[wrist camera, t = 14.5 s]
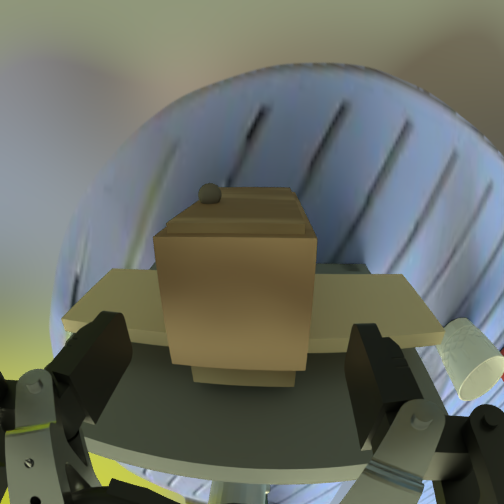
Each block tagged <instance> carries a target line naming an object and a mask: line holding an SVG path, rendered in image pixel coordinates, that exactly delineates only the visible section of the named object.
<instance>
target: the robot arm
mask: <svg viewBox="0 0 504 504" xmlns="http://www.w3.org/2000/svg"><path fill="white" fill-rule="evenodd" d="M132 354H133V349H132V344H131V340H130V337H129V333H128V329H127V325H126V321H125V318H124V315H123V314H122V313H120V312H111V311H101V312H100V313H99V314H98V315H97V317H96V318H95V319H94V320H93V321H92V322H90V323H88V324H86V325H85V326H83V327H82V328H80V329H79V330H78V331H77V332H76V333H75V335H74V336H73V337H72V339H70V340H69V342H68V343H67V344H66V346H64V347H63V349H62V350H61V351H60V352H59V353H58V355H57V356H56V357H55V358H54V359H53V361H52V362H51V363H50V364H49V365H48V367H47V368H46V369H45V370H43V369H34V370H30V371H28V372H26V373H25V374H23V376H21V377H20V378H19V380H16V381H15V380H5V379H4V377H3V375H2V373H1V372H0V502H1V500H2V498H3V496H4V493H5V491H6V489H7V487H8V491H9V498H10V504H180V503H178V502H175V501H173V500H171V499H168V498H166V497H164V496H162V495H160V494H158V493H156V492H154V491H152V490H150V489H148V488H144V487H140V486H137V485H133V484H129V483H126V482H123V481H119V480H116V479H113V478H112V479H111V481H110V484H109V486H101V484H100V482H99V480H98V479H97V477H96V475H95V473H94V470H93V467H92V464H91V460H90V457H89V454H88V450H87V446H86V442H85V438H84V434H83V431H82V429H81V427H80V426H81V425H82V423H83V421H84V422H87V423H90V424H93V425H96V423H97V421H98V419H99V418H100V416H101V414H102V412H103V410H104V408H105V407H106V405H107V403H108V401H109V399H110V397H111V396H112V394H113V392H114V390H115V388H116V387H117V385H118V383H119V381H120V380H121V378H122V376H123V374H124V373H125V371H126V369H127V367H128V366H129V364H130V362H131V359H132ZM404 357H405V356H404V354H403V352H402V350H401V348H400V346H399V345H398V344H397V343H396V342H395V341H393V340H392V339H391V338H390V337H382V335H381V333H380V331H379V329H378V327H377V325H376V323H358V324H353V326H352V329H351V333H350V338H349V343H348V348H347V352H346V357H345V364H344V371H345V378H346V382H347V386H348V391H349V395H350V400H351V404H352V409H353V414H354V419H355V423H356V428H357V433H358V438H359V444H360V449H361V451H363V450H371V449H372V451H373V457H372V459H371V460H370V462H369V463H368V464H367V466H366V467H365V469H364V470H363V472H362V473H361V475H360V476H359V477H358V479H357V480H356V482H355V483H354V485H353V486H352V487H351V489H350V490H349V492H348V493H347V494H346V496H345V497H344V498H343V499H342V501H341V502H340V504H417V502H418V500H419V498H420V496H421V494H422V492H423V489H424V484H422V480H432V482H433V487H434V492H435V497H436V502H437V504H504V412H503V411H502V410H501V409H499V408H498V407H496V406H493V405H489V404H484V405H480V406H478V407H476V408H475V409H474V410H473V411H472V413H471V414H470V416H469V417H464V416H449V415H444V413H443V411H442V410H441V408H440V407H439V406H438V405H436V404H435V403H433V402H431V401H428V400H424V398H423V395H422V393H421V391H420V388H419V386H418V384H417V382H416V380H415V377H414V375H413V373H412V371H411V369H410V367H409V365H408V363H407V360H406V359H405V358H404ZM269 492H270V484H248V483H233V482H223V481H213V480H212V484H211V490H210V495H209V501H208V504H265V495H266V494H267V493H269Z"/></svg>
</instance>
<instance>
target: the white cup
mask: <svg viewBox="0 0 504 504" xmlns="http://www.w3.org/2000/svg"><path fill="white" fill-rule="evenodd" d="M444 330H445V334H444V337H443V340H442V342H441V344H440V345H436V348H437V350H438V353H439V355H440V357H441V358H442V362H443V364H444V366H445V368H446V371H447V373H448V375H449V377H450V379H451V381H452V383H453V385H454V387H455V389H456V391H457V394H458V396H459V398H460V399H461V400H463V401H470V400H474V399H476V398H478V397H480V396H482V395H483V394H485V393H486V392H487V391H489V390H490V389H491V388H492V387H493V386H494V385H495V384H496V383H497V382H498V380H499V379H500V378H501V376H502V374H503V372H504V356H503V355H502V354H501V353H500V351H499V350H498V349H497V348H496V347H495V346H494V345H493V343H492V342H491V341H490V340H489V339H488V338H487V337H486V336H485V335H484V334H483V333H482V332H481V331H480V330H479V329H478V328H477V327H476V326H475V325H474V324H473V323H472V322H471V321H470V320H468V319H467V318H457V319H455V320H453V321H451V322H450V323H449V324H447V325H446V326H445V327H444Z"/></svg>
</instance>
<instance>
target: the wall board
mask: <svg viewBox="0 0 504 504" xmlns="http://www.w3.org/2000/svg"><path fill="white" fill-rule="evenodd" d="M101 311H111V312H120V313H122V314H123V315H124V318H125V321H126V325H127V329H128V333H129V337H130V340H131V344H132V349H133V354H132V359H131V362H130V364H129V366H128V367H127V369H126V371H125V373H124V374H123V376H122V378H121V380H120V381H119V383H118V385H117V387H116V388H115V390H114V392H113V394H112V396H111V397H110V399H109V401H108V403H107V405H106V407H105V408H104V410H103V412H102V414H101V416H100V418H99V419H98V421H97V423H96V425H93V424H90V423H87V422H84V421H83V423H82V425H81V426H80V427H81V429H82V431H83V434H84V438H85V442H86V446H87V450H88V452H91V453H94V454H97V455H100V456H103V457H106V458H109V459H112V460H116V461H119V462H122V463H126V464H130V465H133V466H137V467H141V468H145V469H150V470H154V471H159V472H164V473H169V474H174V475H179V476H185V477H191V478H198V479H205V480H213V481H223V482H233V483H248V484H278V485H286V484H317V483H331V482H341V481H351V480H357V479H358V477H359V476H360V475H361V473H362V472H363V470H364V469H365V467H366V466H367V464H368V463H369V462H370V460H371V459H372V457H373V451H372V449H371V450H363V451H361V449H360V444H359V438H358V433H357V428H356V423H355V419H354V414H353V409H352V404H351V400H350V395H349V391H348V386H347V382H346V378H345V371H344V364H345V357H346V352H347V348H348V343H349V338H350V333H351V329H352V326H353V324H358V323H376V325H377V327H378V329H379V331H380V333H381V335H382V337H390V338H391V339H392V340H393V341H395V342H396V343H397V344H398V345H399V346H400V348H401V350H402V352H403V354H404V356H405V357H404V358H405V359H406V360H407V363H408V365H409V367H410V369H411V371H412V373H413V375H414V377H415V380H416V382H417V384H418V386H419V388H420V391H421V393H422V395H423V398H424V400H428V401H431V402H433V403H435V404H436V405H438V406H439V407H440V408H441V410H442V411H443V413H444V415H448V413H447V411H446V409H445V407H444V404H443V402H442V400H441V398H440V396H439V394H438V392H437V390H436V388H435V386H434V384H433V382H432V380H431V378H430V376H429V374H428V372H427V370H426V368H425V366H424V364H423V362H422V360H421V359H420V357H419V355H418V353H417V351H416V349H415V347H423V346H432V345H440V344H441V342H442V340H443V337H444V334H445V330H444V328H443V327H442V326H441V324H440V323H439V321H438V320H437V319H436V317H435V316H434V315H433V313H432V312H431V311H430V309H429V308H428V307H427V305H426V304H425V303H424V301H423V300H422V299H421V297H420V296H419V295H418V294H417V292H416V291H415V290H414V288H413V287H412V286H411V285H410V283H409V282H408V281H407V280H406V278H405V277H404V276H403V275H402V274H371V273H370V271H369V270H368V268H367V266H366V265H365V264H317V263H316V268H315V282H314V294H313V305H312V316H311V326H310V335H309V345H308V353H307V362H306V370H305V371H296V374H295V384H294V387H263V386H239V385H223V384H211V383H200V382H194V381H193V375H192V369H191V366H188V365H179V364H172V360H171V355H170V350H169V344H168V339H167V334H166V328H165V322H164V316H163V310H162V303H161V297H160V290H159V283H158V275H157V268H156V262H155V263H154V264H153V265H152V267H151V268H150V269H149V270H138V269H115V268H112V269H111V270H110V271H109V272H108V273H107V274H106V275H105V276H104V277H103V278H102V279H101V280H100V281H99V282H98V283H97V284H95V285H94V286H93V287H92V288H91V289H90V290H89V291H88V292H87V293H86V294H85V295H84V296H83V297H82V298H81V299H80V300H79V301H78V302H77V303H76V304H75V305H74V306H73V307H72V308H71V309H70V310H69V311H68V312H67V313H66V314H65V315H64V316H63V317H62V318H61V320H62V322H63V325H64V328H65V331H68V332H73V333H76V332H77V331H78V330H79V329H80V328H82V327H83V326H85V325H86V324H88V323H90V322H92V321H93V320H94V319H95V318H96V317H97V315H98V314H99V313H100V312H101Z"/></svg>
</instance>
